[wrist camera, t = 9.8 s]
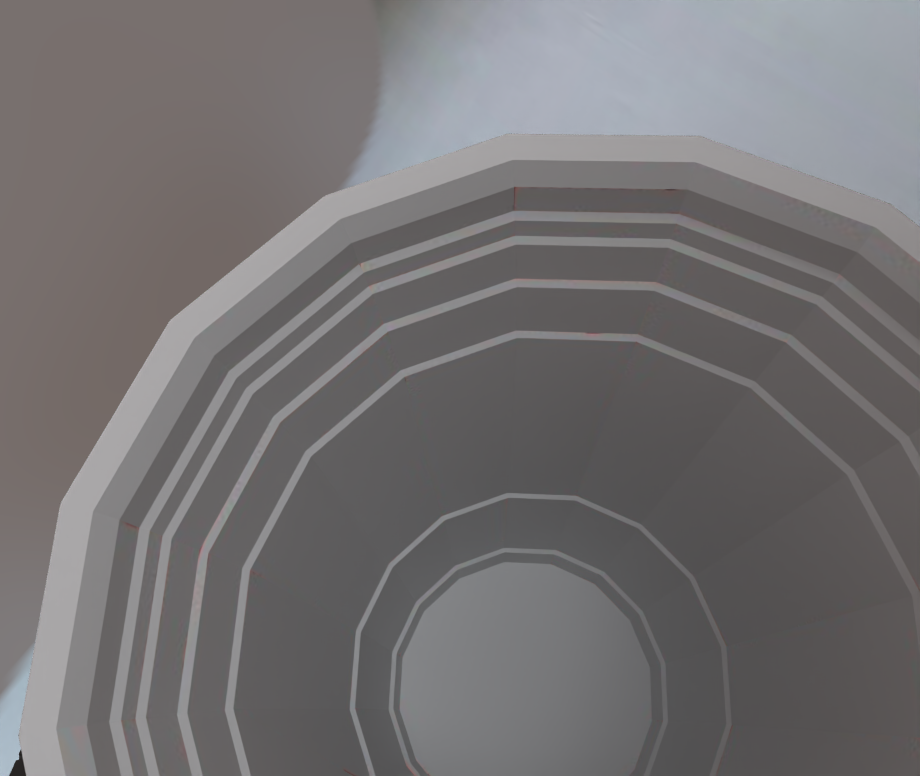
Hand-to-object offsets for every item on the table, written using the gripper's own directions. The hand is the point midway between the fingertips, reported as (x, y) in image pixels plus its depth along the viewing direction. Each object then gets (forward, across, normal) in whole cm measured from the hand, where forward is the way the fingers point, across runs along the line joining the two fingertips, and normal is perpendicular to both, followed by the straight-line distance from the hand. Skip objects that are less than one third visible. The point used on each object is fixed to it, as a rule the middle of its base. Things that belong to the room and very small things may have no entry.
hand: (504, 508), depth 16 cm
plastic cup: (+1, 0, -5) cm, 6 cm away
